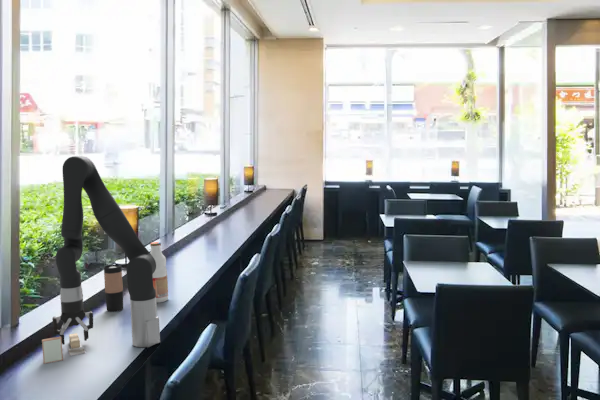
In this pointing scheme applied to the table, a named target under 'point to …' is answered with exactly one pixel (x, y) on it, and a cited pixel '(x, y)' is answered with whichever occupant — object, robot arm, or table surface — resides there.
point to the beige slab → (75, 345)
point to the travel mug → (113, 288)
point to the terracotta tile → (52, 349)
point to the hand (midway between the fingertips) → (74, 342)
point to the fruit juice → (159, 273)
